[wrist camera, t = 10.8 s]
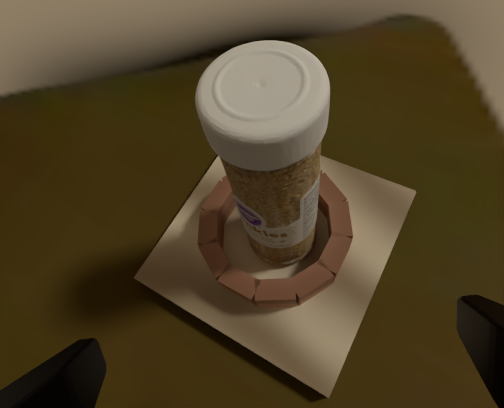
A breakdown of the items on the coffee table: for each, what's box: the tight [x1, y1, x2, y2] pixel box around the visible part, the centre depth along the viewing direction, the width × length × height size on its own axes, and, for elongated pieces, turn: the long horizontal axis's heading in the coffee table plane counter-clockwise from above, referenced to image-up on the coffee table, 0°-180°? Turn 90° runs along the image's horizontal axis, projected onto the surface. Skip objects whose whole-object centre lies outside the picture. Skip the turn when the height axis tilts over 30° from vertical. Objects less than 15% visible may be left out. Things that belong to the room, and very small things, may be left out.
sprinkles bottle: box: [195, 41, 330, 265], centre depth 17 cm, size 5×5×14 cm
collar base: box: [134, 155, 416, 398], centre depth 23 cm, size 14×14×3 cm
